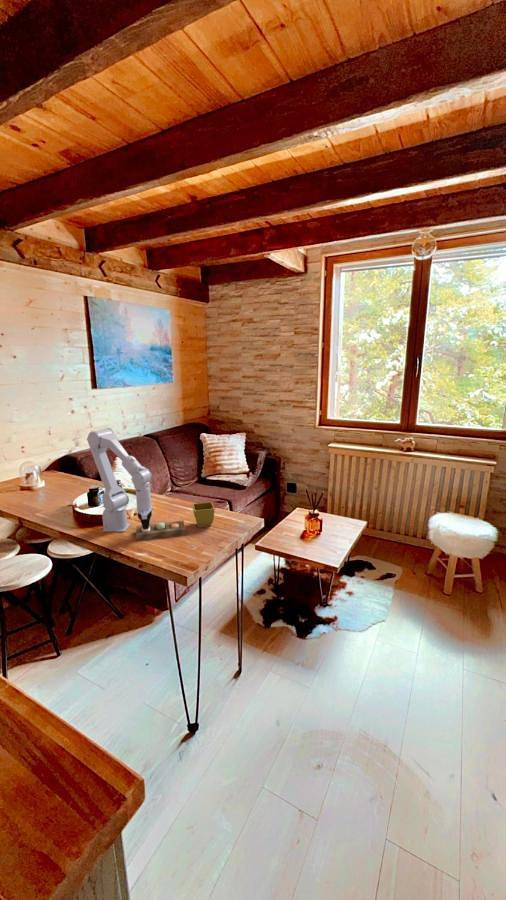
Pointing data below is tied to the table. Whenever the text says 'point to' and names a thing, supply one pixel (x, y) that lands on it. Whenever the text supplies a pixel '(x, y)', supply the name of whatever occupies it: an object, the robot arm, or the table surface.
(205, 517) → the flower pot
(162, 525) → the sage button
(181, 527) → the button board
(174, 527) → the orange button
